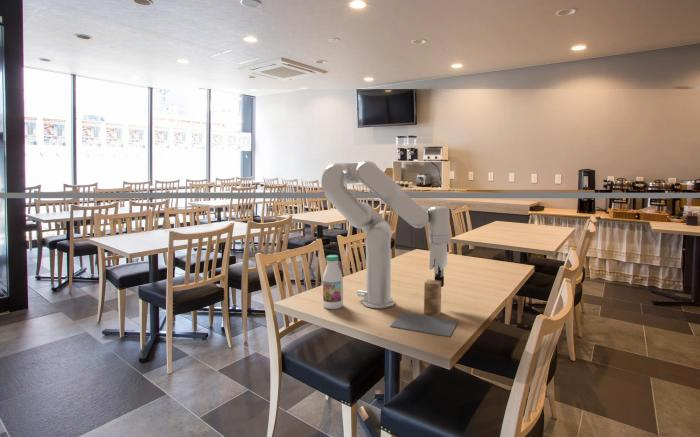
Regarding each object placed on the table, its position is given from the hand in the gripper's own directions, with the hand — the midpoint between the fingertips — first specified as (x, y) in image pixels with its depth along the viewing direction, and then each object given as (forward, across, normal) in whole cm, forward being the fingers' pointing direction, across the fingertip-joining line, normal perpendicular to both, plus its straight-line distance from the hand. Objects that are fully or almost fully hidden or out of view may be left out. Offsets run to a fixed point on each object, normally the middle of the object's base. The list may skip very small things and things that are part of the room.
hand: (439, 285), depth 152 cm
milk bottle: (+8, +16, -38) cm, 42 cm away
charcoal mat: (+8, +19, -1) cm, 21 cm away
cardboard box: (+8, +8, -1) cm, 12 cm away
